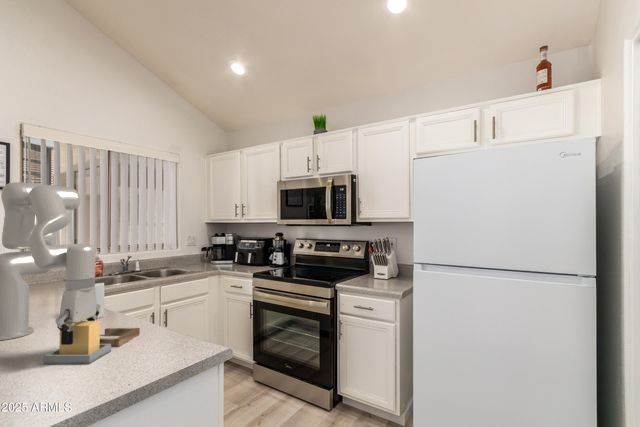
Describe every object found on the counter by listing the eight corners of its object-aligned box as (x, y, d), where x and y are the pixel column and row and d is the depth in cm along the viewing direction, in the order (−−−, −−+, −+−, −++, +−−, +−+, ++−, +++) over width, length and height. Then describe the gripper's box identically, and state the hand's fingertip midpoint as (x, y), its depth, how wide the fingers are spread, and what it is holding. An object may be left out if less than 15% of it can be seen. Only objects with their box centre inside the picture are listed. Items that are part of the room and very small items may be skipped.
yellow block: (57, 358, 99) (58, 325, 99) (69, 352, 104) (70, 321, 104) (88, 358, 99) (89, 325, 99) (99, 351, 104) (100, 320, 104)
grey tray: (43, 364, 96) (44, 355, 96) (69, 351, 106) (69, 343, 106) (89, 364, 96) (89, 355, 96) (110, 351, 106) (111, 343, 106)
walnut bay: (82, 346, 110) (82, 339, 110) (106, 334, 122) (106, 328, 122) (118, 346, 110) (119, 339, 110) (139, 334, 122) (139, 327, 122)
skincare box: (104, 317, 145) (104, 284, 146) (87, 319, 142) (88, 286, 143) (104, 313, 152) (105, 281, 153) (88, 315, 149) (89, 283, 150)
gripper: (88, 279, 111) (87, 329, 110) (45, 289, 93) (43, 349, 93) (110, 279, 111) (109, 329, 110) (70, 289, 93) (69, 349, 93)
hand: (79, 338), depth 101 cm, fingers open, 9 cm apart
